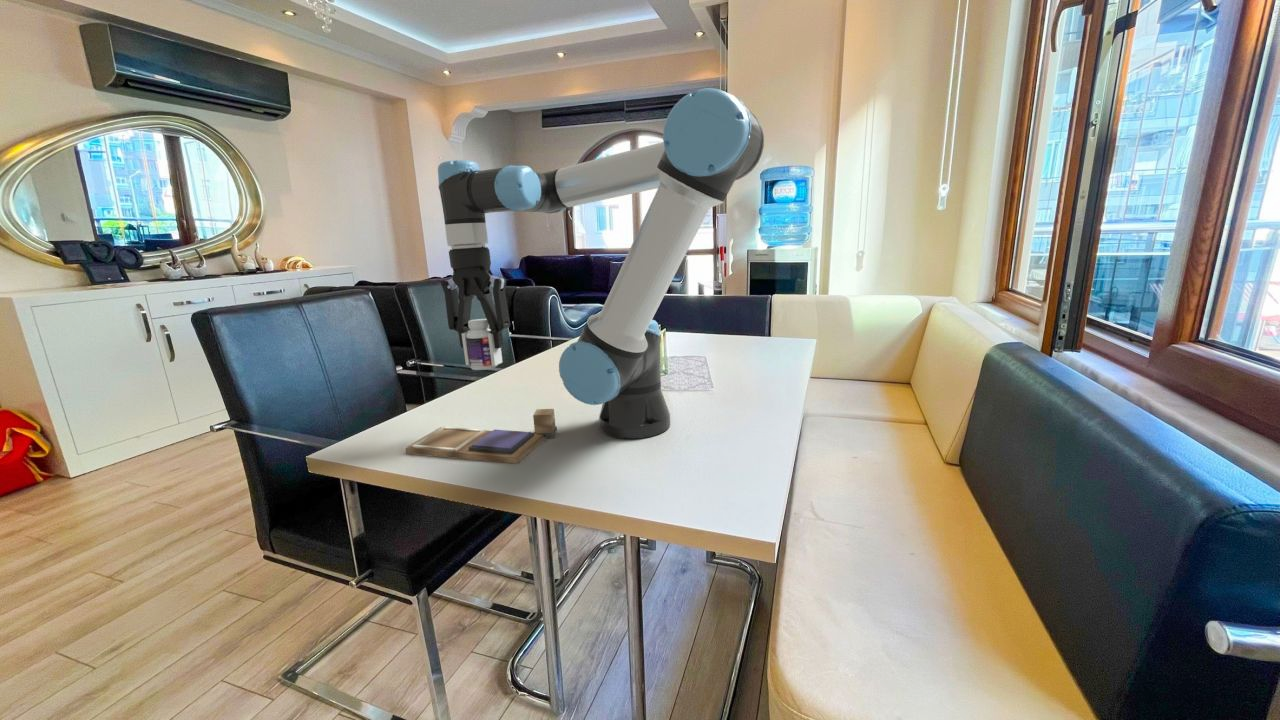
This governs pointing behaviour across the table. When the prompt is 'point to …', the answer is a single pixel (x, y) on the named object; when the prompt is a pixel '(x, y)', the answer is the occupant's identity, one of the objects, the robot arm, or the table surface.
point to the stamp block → (545, 422)
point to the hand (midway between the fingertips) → (484, 363)
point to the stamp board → (477, 444)
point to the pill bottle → (479, 345)
